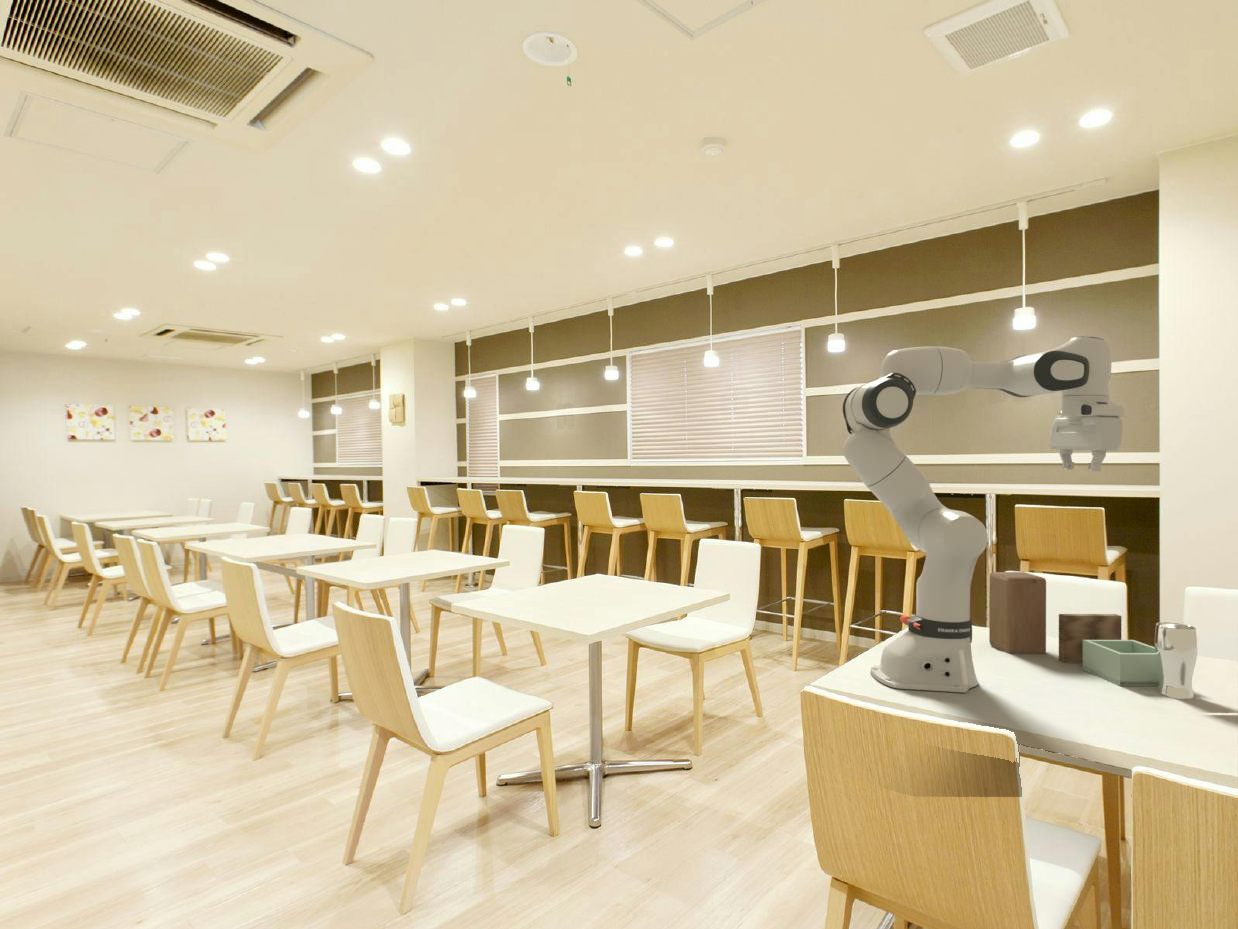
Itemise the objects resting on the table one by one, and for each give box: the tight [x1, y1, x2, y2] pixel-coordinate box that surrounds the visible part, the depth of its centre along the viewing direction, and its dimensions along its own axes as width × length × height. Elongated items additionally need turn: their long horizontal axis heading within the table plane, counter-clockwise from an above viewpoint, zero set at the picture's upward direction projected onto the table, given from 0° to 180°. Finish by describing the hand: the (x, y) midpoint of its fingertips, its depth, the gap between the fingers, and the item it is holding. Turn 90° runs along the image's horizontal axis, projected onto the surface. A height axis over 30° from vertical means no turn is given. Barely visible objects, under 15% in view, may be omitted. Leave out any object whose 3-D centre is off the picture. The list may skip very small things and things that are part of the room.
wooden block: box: [988, 571, 1047, 655], centre depth 177 cm, size 10×10×20 cm
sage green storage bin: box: [1082, 639, 1160, 687], centre depth 153 cm, size 12×12×7 cm
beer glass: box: [1154, 621, 1198, 700], centre depth 142 cm, size 7×7×15 cm
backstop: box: [1058, 613, 1122, 664], centre depth 156 cm, size 14×20×12 cm
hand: (1080, 470), depth 153 cm, fingers open, 8 cm apart
